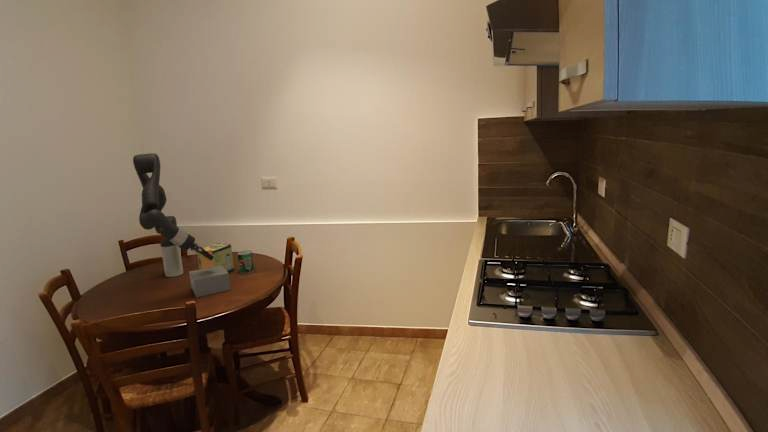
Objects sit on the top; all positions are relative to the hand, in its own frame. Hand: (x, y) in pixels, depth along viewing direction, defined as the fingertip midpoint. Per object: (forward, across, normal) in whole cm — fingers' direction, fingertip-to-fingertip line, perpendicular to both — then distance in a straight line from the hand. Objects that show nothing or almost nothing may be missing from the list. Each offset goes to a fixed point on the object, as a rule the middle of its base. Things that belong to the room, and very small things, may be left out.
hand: (210, 257), depth 219 cm
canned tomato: (+28, +12, -5) cm, 31 cm away
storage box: (+10, 0, +13) cm, 16 cm away
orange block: (+2, 0, +5) cm, 5 cm away
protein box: (+19, +21, +4) cm, 28 cm away
